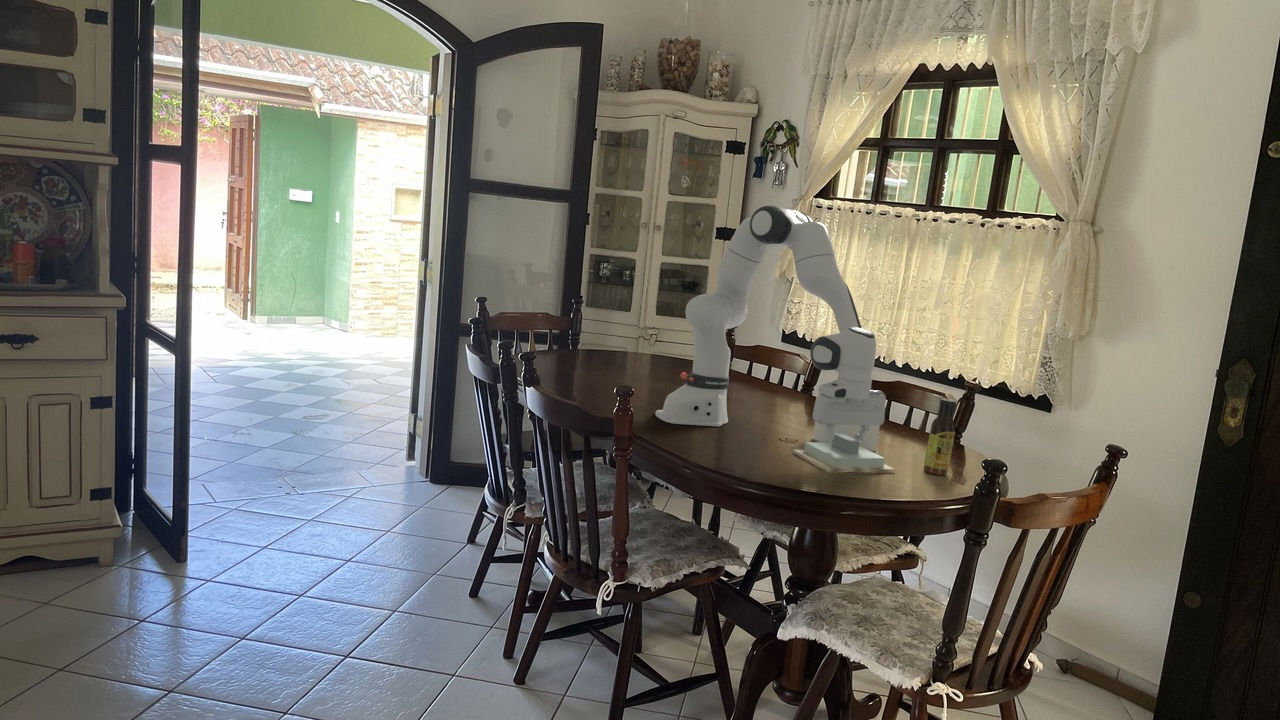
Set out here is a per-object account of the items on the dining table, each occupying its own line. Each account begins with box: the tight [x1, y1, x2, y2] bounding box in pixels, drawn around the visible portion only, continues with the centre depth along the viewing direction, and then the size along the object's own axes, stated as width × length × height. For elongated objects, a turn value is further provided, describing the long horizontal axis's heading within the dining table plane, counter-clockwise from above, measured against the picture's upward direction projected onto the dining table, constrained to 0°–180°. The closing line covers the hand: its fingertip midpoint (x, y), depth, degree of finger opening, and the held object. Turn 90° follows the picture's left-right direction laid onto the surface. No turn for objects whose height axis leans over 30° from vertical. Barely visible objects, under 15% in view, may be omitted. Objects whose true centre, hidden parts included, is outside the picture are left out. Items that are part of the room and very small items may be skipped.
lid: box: [803, 433, 886, 468], centre depth 225 cm, size 15×15×6 cm
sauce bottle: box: [923, 398, 957, 476], centre depth 224 cm, size 6×6×20 cm
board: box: [792, 449, 896, 474], centre depth 226 cm, size 20×18×1 cm
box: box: [812, 392, 881, 452], centre depth 246 cm, size 13×13×14 cm
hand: (845, 440), depth 225 cm, fingers open, 7 cm apart
